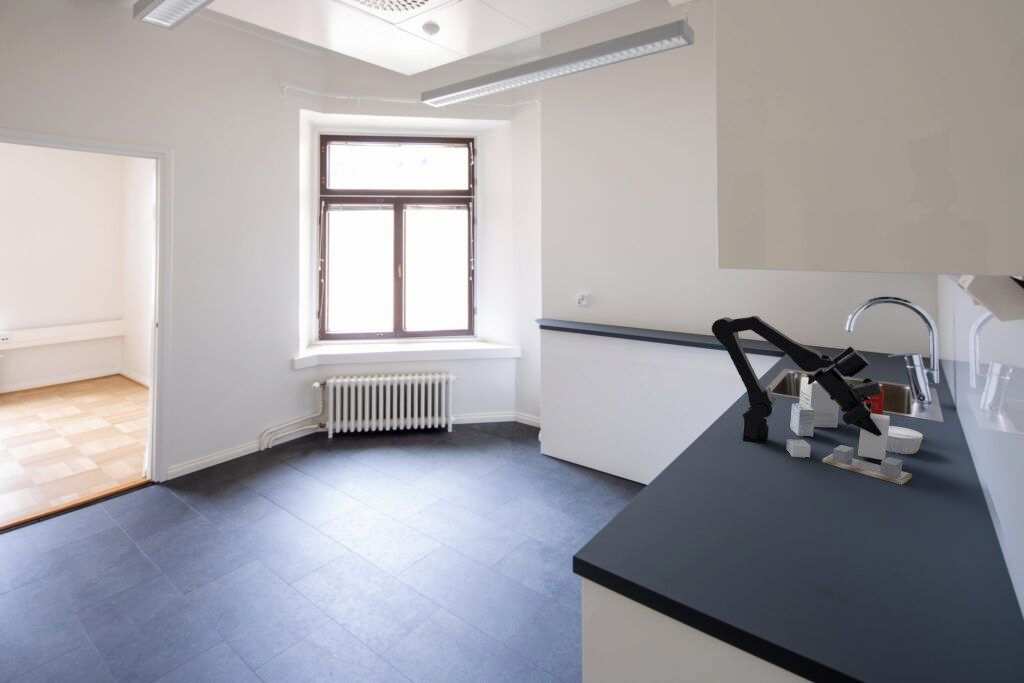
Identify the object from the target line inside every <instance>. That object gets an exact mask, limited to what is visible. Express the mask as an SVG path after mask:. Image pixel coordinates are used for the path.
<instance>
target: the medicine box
mask: <svg viewBox="0 0 1024 683" xmlns="http://www.w3.org/2000/svg"><path fill="white" fill-rule="evenodd" d="M814 418H815V410H814V409H812V408H811V407H810V406H808V405H807V404H801V403H800V402H797V403H792V404H791V413H790V427H789V428H791V429H790V430H791V431H792V432H793V433H794V434H795V435H797V437H803V436H811V438H813V437H814V429H815V427H814Z"/></svg>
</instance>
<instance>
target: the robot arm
mask: <svg viewBox="0 0 1024 683" xmlns="http://www.w3.org/2000/svg"><path fill="white" fill-rule="evenodd" d="M745 331H752V332H754V333H755V334H757V335H758V336H760V337H761V338H763V339H764V340H766V341H767V342H768V343H770V344H772V345H773V346H775V347H777V348H778V349H779V350H781V351H782V352H784V353H785V354H786V355H787V356H788V357H789V358H790V359H791V360H792V361H793V362H794V363H795V364H796V365H797V366H798V367H799V368H800V369H801V370H802V371H804V372H808V374H807V377H808V384H809V385H810V384H812V383H813V382H815V381H816V382H817V383H818V384H819V385H820V386H821V387H822V388H823V389H824V390H825V391H826V392H827V393H828V394H829V396H830V399H831V400H834V401H835V402H836V403H837V404H838V405H839V408H840V410H841V411H842V421H843V422H844V423H845V424H846V425H847V426H850V425H853V426H856V427H857V428H860V429H861V428H862V429H864V430H866V431H868V432H870V433H872V434H874V435H876V436H880V435H882V433H881V431H880V430H879V428H878V427H877V426H876V424H875V423H874V421H873V420H872V418H871V417H870V415H871V413H872V412H871V401H870V402H868V403H867V404H865V403H864V401H865V400H870V397H869V396H874V395H876V396H877V395H881V394H882V389H881V387H880V385H879V384H880V382H879V380H877V379H874V380H873V379H872V378H871V377H864V378H863V380H862V383H859V384H857V385H854V384H853V383H852V382H848V381H847V380H846V379H845V378H844V377H850V378H853V377H854V376H856V375H857V374H859V373H860V372H862V371H864V370H865V369H867V368H868V367H870V366H871V363H870V361H869V360H868V359H867V358H866V357H865V356H864V355H863V354H862V353H861V352H859V351H858V350H856V349H855V348H854V347H852V346H851V345H850V346H848V347H847V348H845V350H843V351H842V352H841V353H840V354H837V355H836V356H833V355H832V356H831V355H828V354H822V353H821V351H819V350H818V349H815V348H812V347H811V346H808V345H806V344H802V343H800V342H797V341H795V340H793V339H792V338H790V337H789V336H788V335H785V334H784V333H783V332H781V331H780V330H778V329H776V328H775V327H773V326H772V325H770V324H769V323H767V322H766V321H764V320H763V319H762V318H760V316H758V315H751V316H749V317H748V316H747V317H741V318H731V317H725V316H724V317H721V318H719V319H717V320H714V322H713V323H712V325H711V332H712V334H713V335H714V337H715V338H716V339H717V341H718V342H719V343H720V344H721V345H722V346H723V347H724V348H725V350H726V351H727V354H728V355H729V357H730V359H731V361H732V364H733V365H734V367H735V369H736V371H737V373H738V375H739V377H740V379H741V381H742V383H743V386H744V387H745V389H746V392H747V397H748V404H749V407H748V408H747V409H746V410H745V411H744V413H743V414H742V417H743V428H742V436H741V437H742V439H741V440H743V441H747V442H756V443H767V440H768V439H769V424H768V421H767V420H768V419H767V418H768V417H770V416H771V415H772V414H773V412H774V410H775V408H776V405H777V403H776V401H777V398H776V397H775V396H774V394H773V391H772V388H771V387H767V388H765V387H764V386H763V385H762V383H761V382H760V380H759V378H758V376H757V374H756V372H755V370H754V368H753V366H752V364H751V362H750V361H749V358H748V356H747V354H746V353H745V350H744V348H743V346H742V345H741V341H740V335H739V333H740V332H745ZM810 372H811V373H810ZM812 372H815V373H812ZM841 375H842V376H841ZM862 402H863V403H862ZM872 414H873V413H872Z"/></svg>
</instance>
